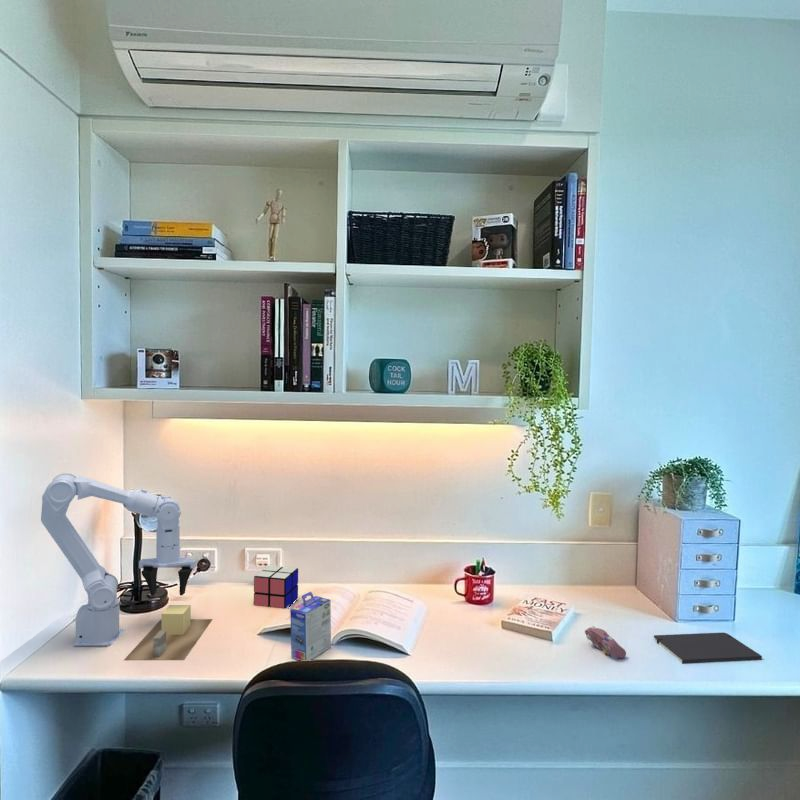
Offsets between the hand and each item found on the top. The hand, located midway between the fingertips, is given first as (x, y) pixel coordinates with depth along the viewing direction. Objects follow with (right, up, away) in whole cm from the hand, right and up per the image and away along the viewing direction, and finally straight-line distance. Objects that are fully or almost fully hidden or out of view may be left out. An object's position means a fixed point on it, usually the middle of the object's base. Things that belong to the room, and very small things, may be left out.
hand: (167, 594), depth 147 cm
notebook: (+141, -13, -6) cm, 142 cm away
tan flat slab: (+4, -10, -8) cm, 13 cm away
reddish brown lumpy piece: (+114, -12, -8) cm, 115 cm away
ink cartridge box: (+40, -11, -11) cm, 43 cm away
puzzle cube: (+25, -10, +17) cm, 32 cm away
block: (+4, -8, -3) cm, 10 cm away
